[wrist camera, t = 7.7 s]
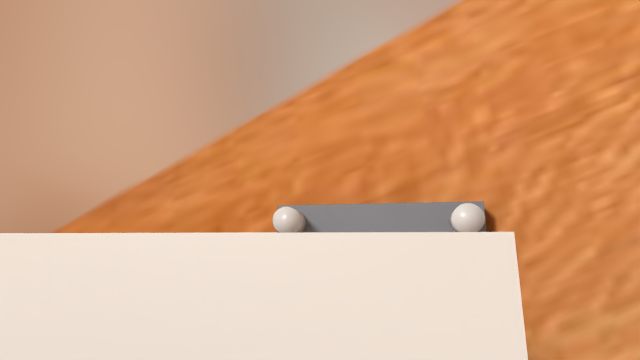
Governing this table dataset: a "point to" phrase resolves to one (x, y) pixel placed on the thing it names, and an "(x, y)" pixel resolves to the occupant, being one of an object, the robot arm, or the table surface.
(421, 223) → the locating plate
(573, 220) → the table surface
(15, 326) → the block
